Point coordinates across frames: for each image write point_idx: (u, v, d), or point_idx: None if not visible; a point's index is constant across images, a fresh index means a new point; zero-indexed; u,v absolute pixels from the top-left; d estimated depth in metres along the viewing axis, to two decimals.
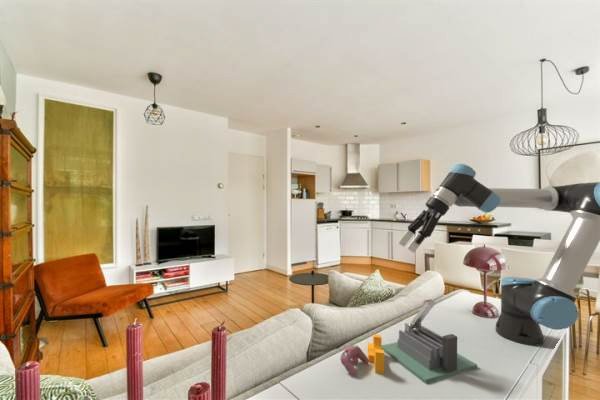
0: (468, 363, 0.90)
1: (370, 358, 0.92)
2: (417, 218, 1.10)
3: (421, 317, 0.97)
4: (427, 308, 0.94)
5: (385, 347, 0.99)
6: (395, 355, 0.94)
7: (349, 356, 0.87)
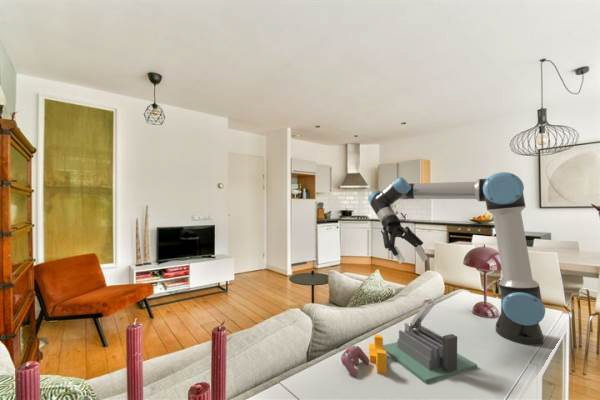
0: (468, 363, 0.90)
1: (372, 358, 0.92)
2: None
3: (421, 317, 0.97)
4: (427, 308, 0.94)
5: (385, 347, 0.99)
6: (395, 355, 0.94)
7: (350, 356, 0.86)
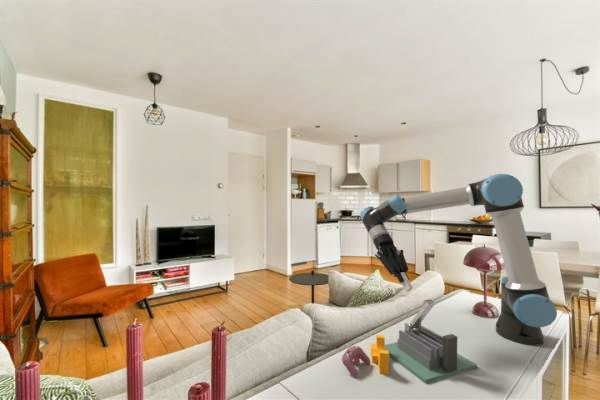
0: (468, 363, 0.90)
1: (374, 359, 0.91)
2: None
3: (421, 317, 0.97)
4: (427, 308, 0.94)
5: (385, 347, 0.99)
6: (395, 355, 0.94)
7: (351, 357, 0.86)
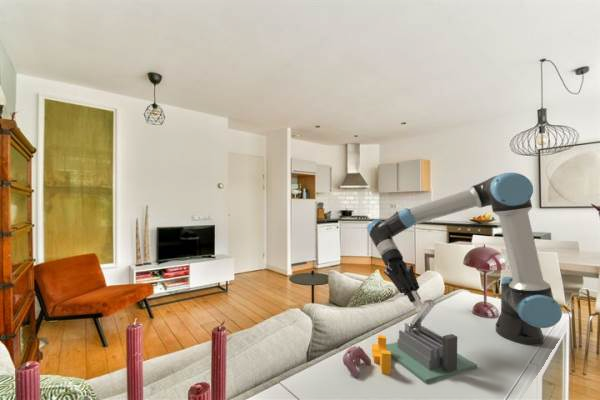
0: (468, 363, 0.90)
1: (375, 359, 0.91)
2: None
3: (421, 318, 0.97)
4: (427, 308, 0.94)
5: None
6: (395, 355, 0.94)
7: (351, 357, 0.86)
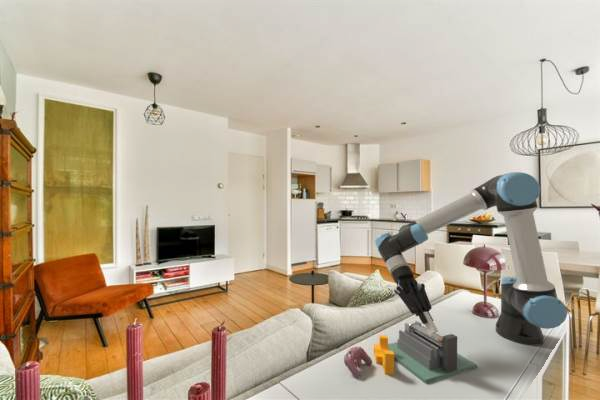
0: (468, 363, 0.90)
1: (378, 359, 0.91)
2: None
3: None
4: None
5: None
6: (395, 355, 0.94)
7: (353, 357, 0.86)
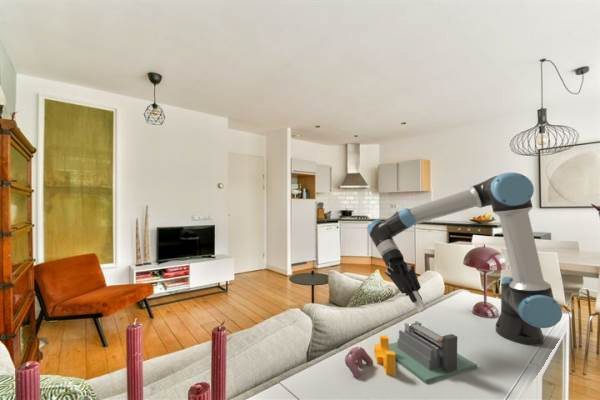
0: (468, 363, 0.90)
1: (379, 360, 0.91)
2: None
3: None
4: None
5: None
6: (395, 355, 0.94)
7: (353, 358, 0.86)
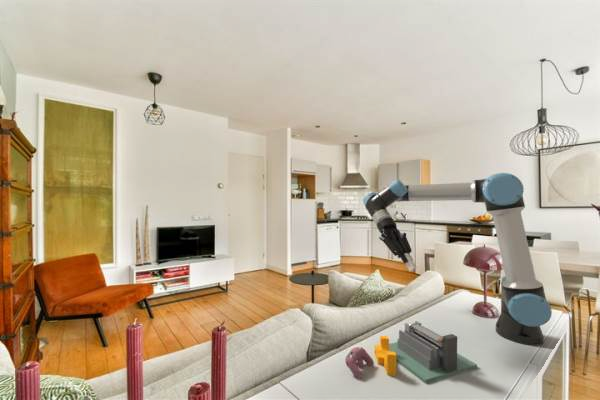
0: (468, 363, 0.90)
1: (379, 360, 0.91)
2: None
3: None
4: None
5: None
6: None
7: (354, 358, 0.86)
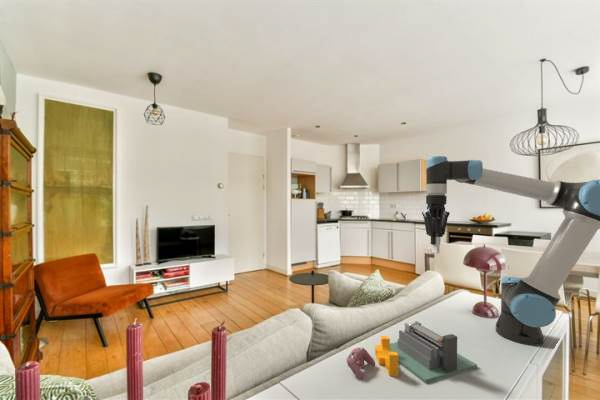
0: (468, 363, 0.90)
1: (381, 361, 0.90)
2: None
3: None
4: None
5: None
6: None
7: (356, 359, 0.85)
